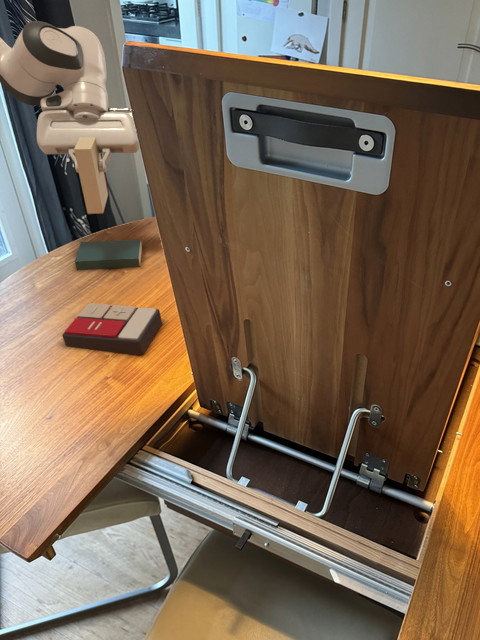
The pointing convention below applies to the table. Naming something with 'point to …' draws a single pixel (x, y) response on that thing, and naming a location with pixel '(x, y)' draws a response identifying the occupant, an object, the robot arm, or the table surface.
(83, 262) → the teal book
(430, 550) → the table surface
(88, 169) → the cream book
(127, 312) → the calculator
